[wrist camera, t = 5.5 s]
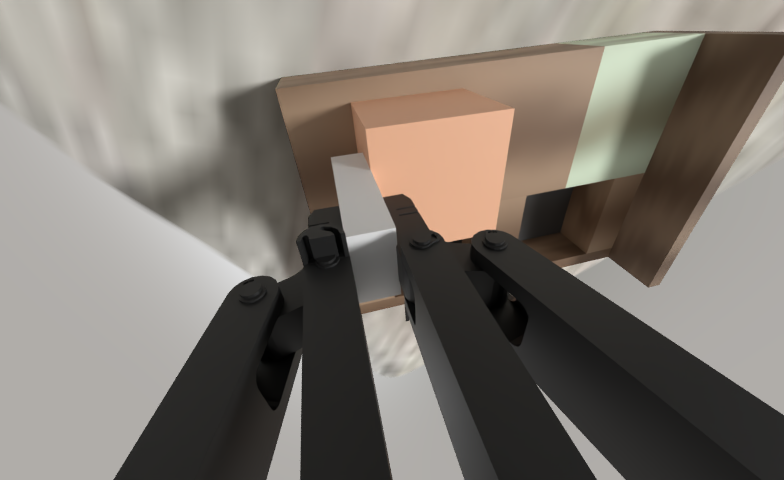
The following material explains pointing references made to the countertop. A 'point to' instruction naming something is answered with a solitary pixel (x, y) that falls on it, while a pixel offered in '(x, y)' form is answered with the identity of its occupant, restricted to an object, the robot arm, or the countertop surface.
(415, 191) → the block
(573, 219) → the box
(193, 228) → the countertop surface
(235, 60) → the countertop surface
